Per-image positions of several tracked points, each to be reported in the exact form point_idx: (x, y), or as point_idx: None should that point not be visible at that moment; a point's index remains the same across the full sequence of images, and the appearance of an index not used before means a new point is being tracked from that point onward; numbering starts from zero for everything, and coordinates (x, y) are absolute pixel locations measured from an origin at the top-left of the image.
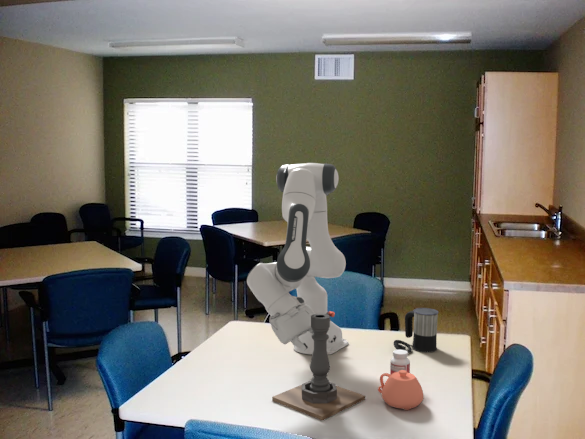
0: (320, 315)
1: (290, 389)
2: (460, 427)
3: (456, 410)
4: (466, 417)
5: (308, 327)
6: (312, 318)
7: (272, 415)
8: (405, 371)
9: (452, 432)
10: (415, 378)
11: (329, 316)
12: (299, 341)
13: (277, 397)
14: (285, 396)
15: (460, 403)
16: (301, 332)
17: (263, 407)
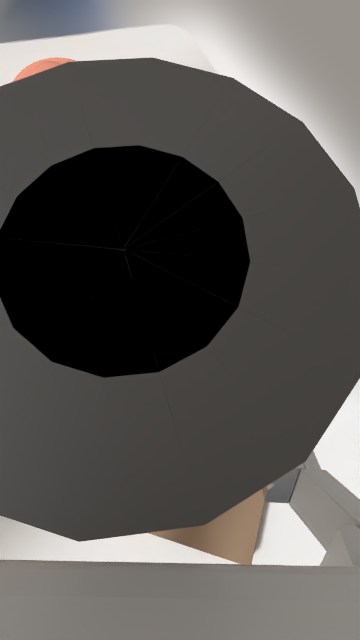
0: (50, 273)
1: (150, 532)
2: (161, 37)
3: (70, 55)
4: (102, 34)
5: (40, 571)
6: (338, 388)
7: (351, 489)
8: (48, 64)
9: (194, 46)
10: (55, 58)
11: (57, 70)
12: (355, 501)
13: (246, 541)
14: (221, 515)
15: (23, 54)
16: (269, 565)
17: (315, 559)
